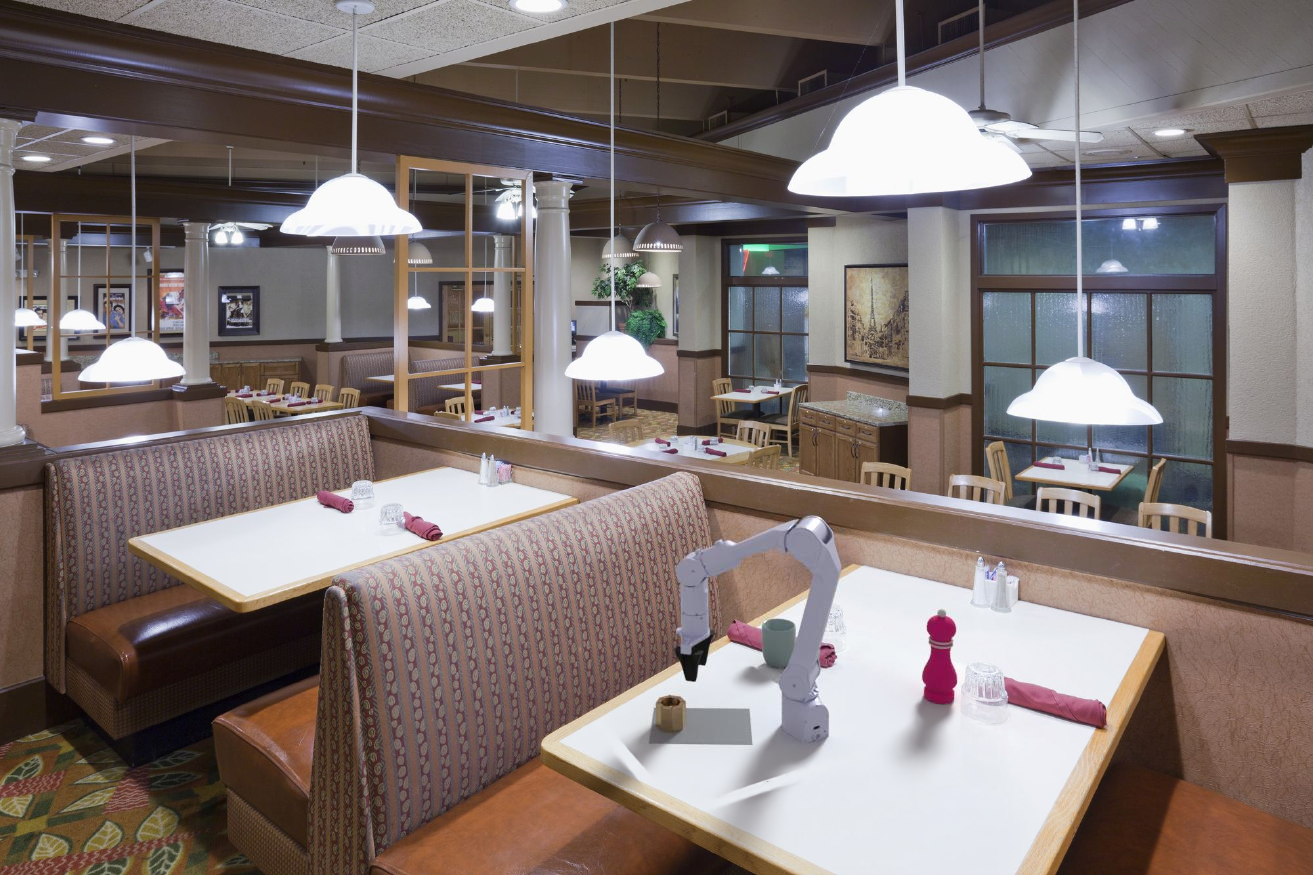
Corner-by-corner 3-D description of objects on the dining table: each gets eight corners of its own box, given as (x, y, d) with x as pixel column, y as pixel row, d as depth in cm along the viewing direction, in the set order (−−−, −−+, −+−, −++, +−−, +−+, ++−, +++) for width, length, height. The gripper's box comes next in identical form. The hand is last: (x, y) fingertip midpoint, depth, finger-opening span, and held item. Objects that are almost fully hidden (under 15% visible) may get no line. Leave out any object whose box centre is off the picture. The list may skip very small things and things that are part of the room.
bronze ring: (690, 727, 168) (689, 704, 167) (665, 734, 166) (664, 711, 165) (677, 715, 173) (676, 692, 172) (652, 722, 171) (651, 699, 170)
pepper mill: (959, 706, 177) (962, 616, 173) (923, 704, 178) (926, 615, 175) (954, 690, 184) (957, 603, 180) (919, 688, 185) (922, 602, 182)
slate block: (749, 715, 176) (749, 708, 175) (752, 751, 162) (752, 744, 162) (654, 714, 177) (654, 707, 177) (649, 750, 163) (649, 743, 163)
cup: (785, 674, 193) (785, 634, 192) (756, 666, 198) (755, 626, 196) (801, 662, 199) (801, 622, 198) (772, 654, 204) (772, 615, 202)
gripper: (685, 596, 181) (687, 655, 183) (665, 622, 167) (667, 685, 169) (717, 599, 178) (718, 659, 181) (699, 625, 165) (700, 690, 167)
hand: (695, 672), depth 175 cm, fingers open, 7 cm apart
